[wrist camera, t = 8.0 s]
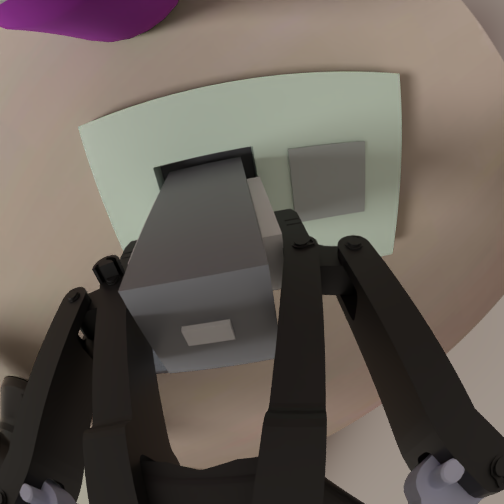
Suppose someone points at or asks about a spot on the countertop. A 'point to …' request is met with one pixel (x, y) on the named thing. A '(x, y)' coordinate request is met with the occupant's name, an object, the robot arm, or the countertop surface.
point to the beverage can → (85, 17)
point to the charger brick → (203, 273)
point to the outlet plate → (264, 149)
